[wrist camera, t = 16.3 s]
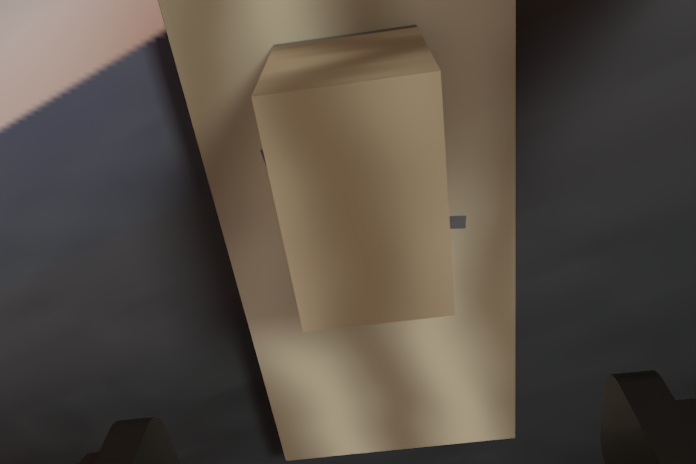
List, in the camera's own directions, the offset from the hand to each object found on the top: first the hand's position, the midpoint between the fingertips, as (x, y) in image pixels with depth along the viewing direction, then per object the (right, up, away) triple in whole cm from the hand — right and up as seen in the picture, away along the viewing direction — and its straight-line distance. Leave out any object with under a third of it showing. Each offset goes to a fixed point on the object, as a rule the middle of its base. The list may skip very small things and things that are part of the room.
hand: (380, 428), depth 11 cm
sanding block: (0, +7, +12) cm, 14 cm away
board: (0, +4, +16) cm, 16 cm away
